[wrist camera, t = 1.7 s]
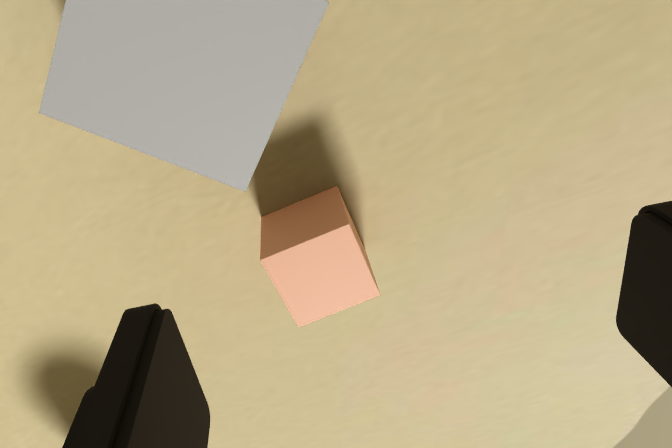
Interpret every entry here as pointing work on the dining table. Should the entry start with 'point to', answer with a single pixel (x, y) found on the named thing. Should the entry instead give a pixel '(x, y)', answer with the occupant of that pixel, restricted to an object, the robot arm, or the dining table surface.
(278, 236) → the block
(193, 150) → the tower top
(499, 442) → the dining table surface
